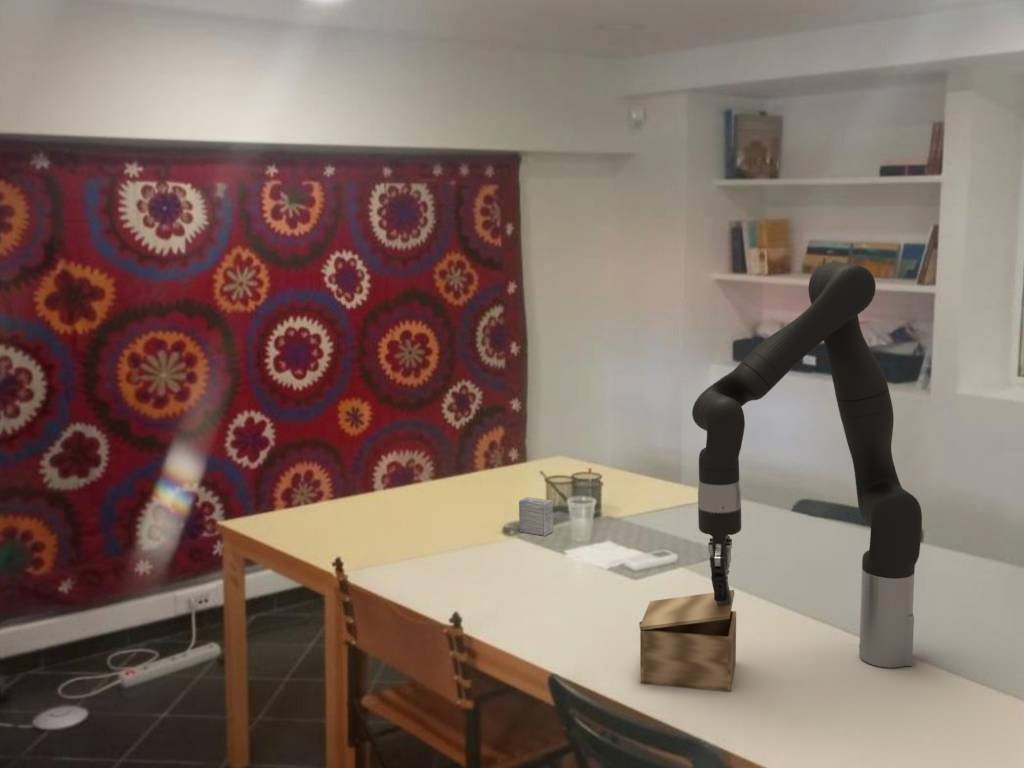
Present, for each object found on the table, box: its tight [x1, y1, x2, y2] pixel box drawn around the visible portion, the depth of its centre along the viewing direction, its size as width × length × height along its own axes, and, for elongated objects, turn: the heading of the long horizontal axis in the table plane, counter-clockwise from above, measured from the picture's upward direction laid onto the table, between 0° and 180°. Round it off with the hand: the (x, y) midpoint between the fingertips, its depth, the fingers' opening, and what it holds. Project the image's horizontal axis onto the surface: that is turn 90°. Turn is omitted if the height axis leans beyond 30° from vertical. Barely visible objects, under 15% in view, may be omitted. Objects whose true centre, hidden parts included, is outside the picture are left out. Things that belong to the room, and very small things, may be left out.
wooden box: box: [639, 610, 737, 693], centre depth 202 cm, size 16×13×10 cm
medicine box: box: [518, 496, 554, 537], centre depth 289 cm, size 8×4×9 cm, turn 58°
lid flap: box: [639, 578, 735, 631], centre depth 201 cm, size 16×13×6 cm
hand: (721, 597), depth 199 cm, fingers closed on lid flap, 2 cm apart
